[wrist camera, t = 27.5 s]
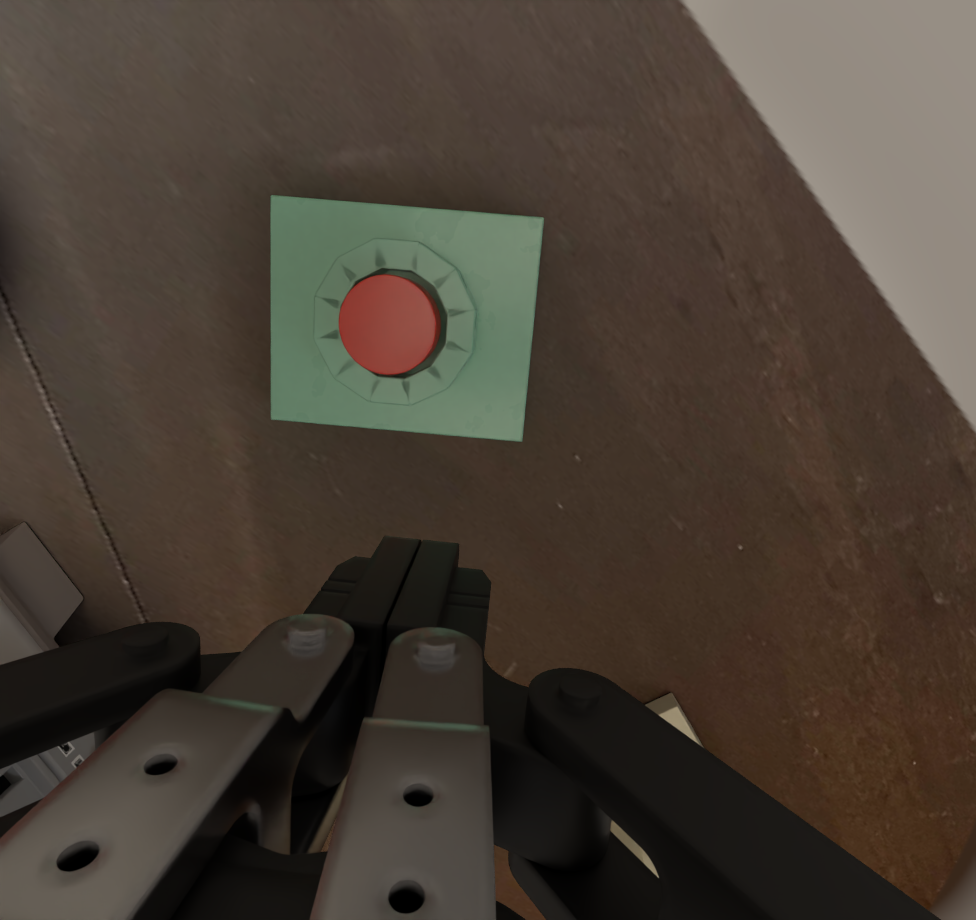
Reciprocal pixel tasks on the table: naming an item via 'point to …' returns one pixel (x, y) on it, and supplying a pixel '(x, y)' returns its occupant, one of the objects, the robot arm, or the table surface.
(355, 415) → the box
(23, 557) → the toaster
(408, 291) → the button
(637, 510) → the table surface
